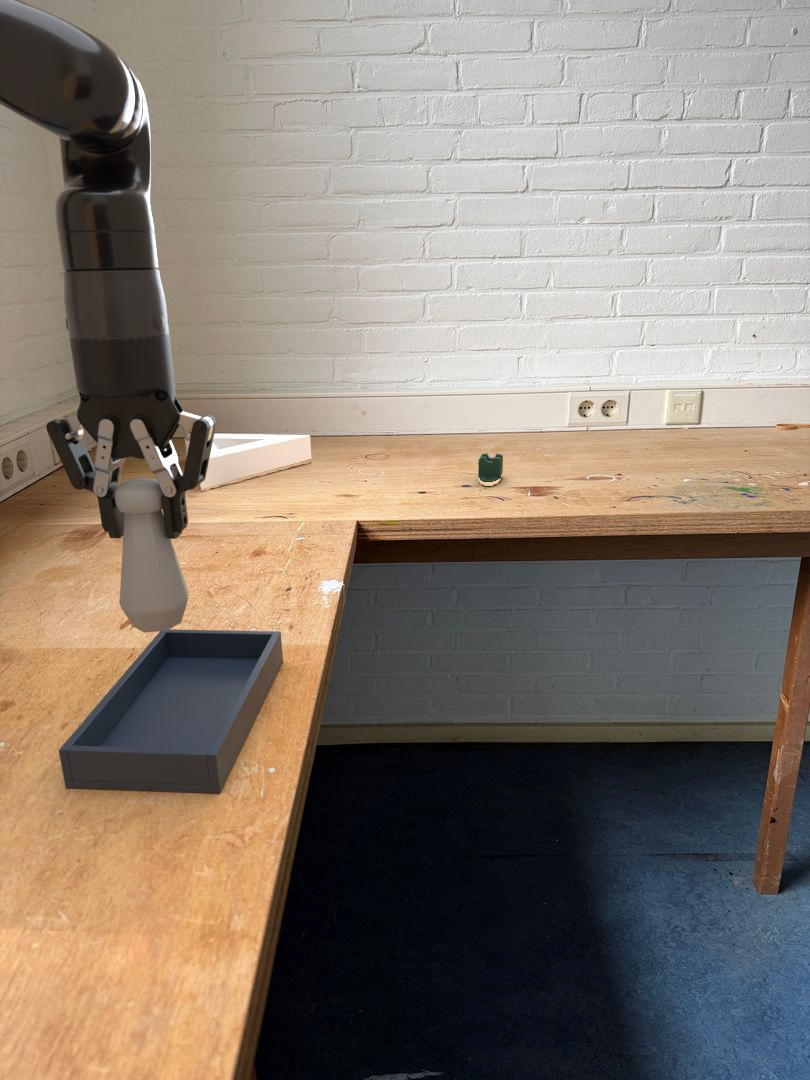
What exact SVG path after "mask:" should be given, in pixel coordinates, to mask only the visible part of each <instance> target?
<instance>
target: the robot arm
mask: <svg viewBox="0 0 810 1080" xmlns="http://www.w3.org/2000/svg"><path fill="white" fill-rule="evenodd" d="M0 105H1V106H2V107H4V108H6V109H7V110H9V111H11V112H13V113H15V114H17V115H18V116H20V117H22V118H24V119H25V120H27V121H29V122H31V123H33V124H35V125H36V126H38V127H39V128H42V129H44V130H45V131H47V132H49V133H51V134H53V135H54V136H56V137H58V140H59V149H60V157H61V158H60V159H61V169H62V170H61V171H62V179H63V181H62V182H63V188H62V190H61V191H60V192H59V193H58V195H57V197H56V199H55V204H54V205H55V206H54V207H55V209H54V215H55V225H56V233H57V240H58V247H59V254H60V260H61V268H62V270H63V274H62V275H63V301H64V310H65V326H66V330H67V331H68V338H69V344H70V350H71V358H72V364H73V370H74V377H75V383H76V384H75V385H76V389H77V391H78V394H79V398H80V399H79V405H78V407H77V410H76V413H74V414H71V415H63V416H60V417H57V418H55V419H53V420H50V421H48V422H47V423H46V427H45V429H46V431H47V434H48V436H49V438H50V440H51V442H52V444H53V446H54V449H55V451H56V453H57V455H58V458H59V461H60V462H61V464H62V466H63V469H64V471H65V473H66V475H67V477H68V479H69V482H70V484H71V486H72V487H73V488H74V489H75V490H79V491H80V490H81V491H82V490H86V491H89V492H92V493H93V494H94V495H95V496H96V499H97V503H98V509H99V515H100V516H99V517H100V522H101V523H100V524H101V528H102V529H103V531H104V532H106V533H108V537H109V538H110V539H121V538H123V533H124V516H125V513H124V512H121V511H120V510H118V508H117V506H116V503H115V490H116V489H117V488H118V486H119V485H120V481H121V475H122V469H123V466H124V464H125V462H126V458H130V457H132V458H136V459H138V460H139V459H140V460H145V462H146V464H147V466H148V469H149V471H150V472H151V473H152V474H154V476H155V479H157V481H158V483H159V485H160V488H161V490H162V492H163V494H164V495H165V496H163V497H162V498H161V500H162V508H163V509H162V513H163V516H164V525H165V533H166V538H167V539H171V540H176V539H177V538H179V537H180V536H181V535H182V534H183V531H184V530H185V529H186V528H187V527H188V523H189V516H188V507H187V499H186V498H187V497H186V492H187V491H192V490H194V489H195V488H197V487H199V484H200V483H202V482H203V481H204V480H205V478H206V473H207V468H208V463H209V458H210V453H211V448H212V443H213V438H214V434H216V433H215V432H216V427H217V420H216V417H214V416H213V415H211V414H206V415H204V416H200V415H197V414H194V413H190V412H187V411H184V409H183V406H182V405H181V403H180V401H179V399H178V397H177V394H176V382H175V381H176V380H175V379H176V378H175V370H174V362H173V353H172V352H173V351H172V344H171V334H170V325H169V317H168V308H167V301H166V295H165V291H164V287H163V282H162V279H161V272H160V270H159V268H160V265H159V257H158V247H157V239H156V231H155V224H154V218H153V213H152V209H151V208H152V207H151V179H152V178H151V177H152V168H151V167H152V151H151V150H152V148H151V145H152V144H151V141H152V140H151V126H150V124H151V123H150V116H149V109H148V104H147V99H146V94H145V92H144V89H143V86H142V84H141V82H140V80H139V77H137V75H136V73H135V72H134V71H133V70H132V68H131V67H130V66H129V65H128V64H127V63H126V62H125V61H124V60H123V59H122V58H121V57H120V56H119V55H118V54H117V52H116V51H114V50H113V48H112V47H111V46H110V45H108V44H107V43H106V42H104V41H103V40H102V39H100V38H99V37H97V36H96V35H94V34H92V33H91V32H89V31H88V30H85V29H84V28H82V27H80V26H78V25H75V24H74V23H73V22H70V21H69V20H66V19H64V18H62V17H60V16H57V15H56V14H53V13H51V12H49V11H46V10H44V9H43V8H42V9H41V8H39V7H37V6H34V5H32V4H29V3H26V2H25V1H22V0H0ZM179 427H181V428H182V430H183V437H184V440H185V439H186V440H187V441H189V448H188V453H187V455H186V459H185V464H184V469H183V471H182V469H181V467H180V463H179V456H178V453H177V451H176V449H175V446H174V444H173V441H172V439H173V437H174V435H175V433H176V431H177V430H178V429H179ZM84 430H85V431H86V432H87V433H88V435H90V437H91V438H92V439H93V441H95V443H96V448H95V449H96V450H95V456H94V463H93V460H92V458H91V456H90V454H89V451H88V449H87V447H86V444H85V442H84V440H83V437H84V435H85V433H84Z"/></svg>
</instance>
